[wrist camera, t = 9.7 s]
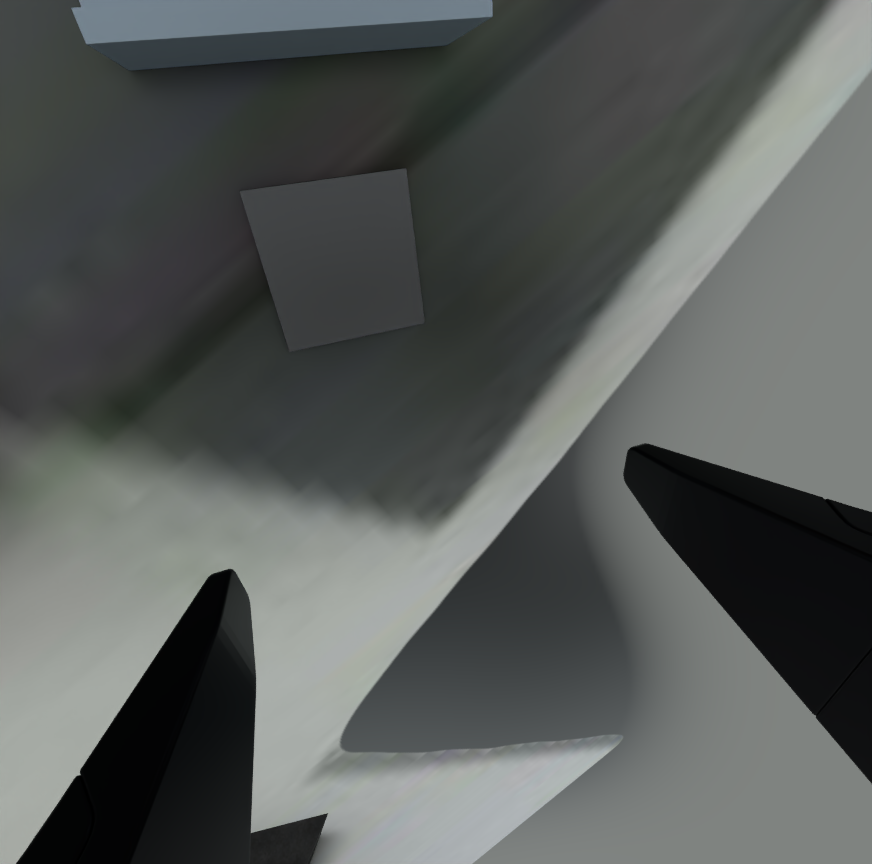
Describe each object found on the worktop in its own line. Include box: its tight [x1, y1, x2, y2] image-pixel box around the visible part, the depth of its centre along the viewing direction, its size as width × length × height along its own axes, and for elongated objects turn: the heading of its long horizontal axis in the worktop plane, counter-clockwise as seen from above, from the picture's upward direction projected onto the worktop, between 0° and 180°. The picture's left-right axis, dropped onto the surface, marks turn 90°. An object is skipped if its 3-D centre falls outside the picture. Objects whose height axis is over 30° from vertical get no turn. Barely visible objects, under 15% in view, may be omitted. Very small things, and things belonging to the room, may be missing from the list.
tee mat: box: [240, 168, 425, 352], centre depth 17 cm, size 6×6×1 cm
